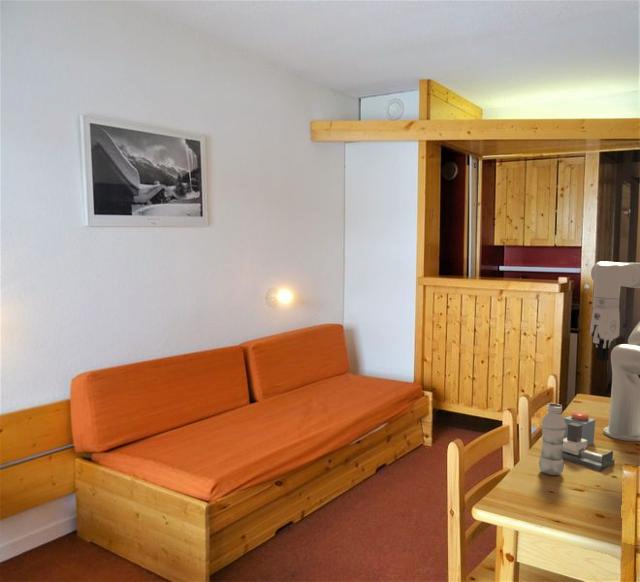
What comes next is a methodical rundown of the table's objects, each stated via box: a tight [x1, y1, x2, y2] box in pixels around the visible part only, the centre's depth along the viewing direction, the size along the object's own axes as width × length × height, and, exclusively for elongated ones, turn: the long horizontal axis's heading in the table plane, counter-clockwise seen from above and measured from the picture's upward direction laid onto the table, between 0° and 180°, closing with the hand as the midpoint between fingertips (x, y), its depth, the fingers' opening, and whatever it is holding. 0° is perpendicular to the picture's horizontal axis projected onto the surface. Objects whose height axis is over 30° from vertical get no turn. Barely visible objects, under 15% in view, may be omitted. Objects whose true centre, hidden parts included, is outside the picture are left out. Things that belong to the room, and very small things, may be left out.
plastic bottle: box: [538, 403, 566, 476], centre depth 170 cm, size 6×7×20 cm
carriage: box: [563, 422, 588, 455], centre depth 184 cm, size 7×5×8 cm
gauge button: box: [570, 411, 590, 422], centre depth 197 cm, size 5×5×5 cm
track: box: [563, 449, 616, 472], centre depth 182 cm, size 9×14×4 cm, turn 40°
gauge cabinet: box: [563, 415, 596, 447], centre depth 198 cm, size 8×7×8 cm
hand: (602, 359), depth 191 cm, fingers closed
